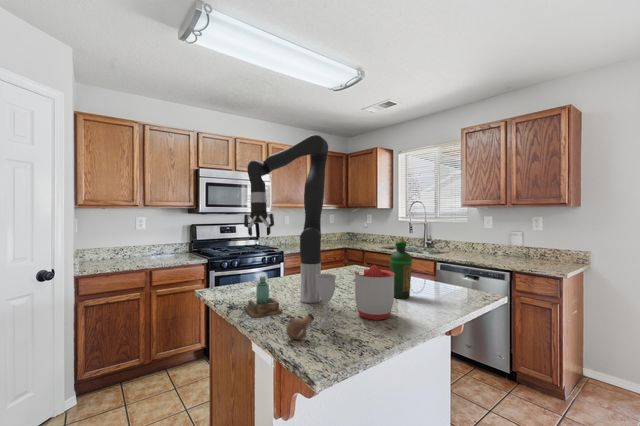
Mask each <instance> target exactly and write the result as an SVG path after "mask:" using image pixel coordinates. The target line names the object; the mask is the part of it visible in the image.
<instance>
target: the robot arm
mask: <svg viewBox="0 0 640 426" xmlns="http://www.w3.org/2000/svg"><path fill="white" fill-rule="evenodd" d="M328 151H329V144H328V141H327V140H326V139H325V138H323V137H322V136H321V135H318V134H311V135H309V136H307V137H305V138H304V139H302V140H301V141H299V142H297V143H295V144H293V145H292V146H290V147H287V148H285V149H284V150H281V151H278V152H276V153H273V154H270V155H268V156H267V157H266V158H265V160H263V161H259V160H257V159H252V160H251V161H249V162H248V165H247V168H246V169H247V170H246V171H247V175H248V179H249V182H250V214H244V217H243V219H244V221H243V226H244V228H247V232H248V235H249V236H250V237H253V226H254V225H255V224H264V225H265V226H266V236H270V235H271V232H272V231H271V228H272V227H274V226H275V220H274V219H275V217H274V213H267V212H268V211H267V209H268V208H267V194H266V191H267V189H266V182H265V181H264V180H263V178H262V177H264V176H266V175H268V174H270V173H271V172H273V171H274V170H277V169H280V168H282V167H286V166H287V165H289V164H291V163H292V162H294V161H295V160H297V159H299V158H302V157H305V156H310V167H309V171H308V173H307V177H306V180H305V183H304V188H303V190H304V191H303V205H304V208H303V209H304V216H305V217H304V225H303V231H302V232H301V233H300V237H299V255H300V256H299V257H300V295H299V296H300V298H299V299H300V302H301V303H304V304H305V303H307V304H316V303H321V301H322V300H321V297H320V295H319V293H318V290H317V277H316V275H318V274H322V273H321V272H322V271H321V270H322V269H321V268H322V263H321V262H322V257H321V256H322V254H321V252H322V251H321V247H322V244H321V243H322V242H321V241H322V231H321V230H322V229H321V228H322V227H321V225H322V224H321V223H322V222H321V218H322V211H323V207H324V199H325V181H326V165H327V158H328V153H329V152H328ZM250 218H251V220H250ZM268 218H269V221H268V220H267V219H268ZM249 220H250V222H249ZM269 222H270V223H269Z"/></svg>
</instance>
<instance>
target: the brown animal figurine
mask: <svg viewBox="0 0 640 426" xmlns="http://www.w3.org/2000/svg"><path fill="white" fill-rule="evenodd" d="M314 320H315V316H314V315H313V314H312V313H310V312H309V313H307V316H305V317H304V318H302V319H301V318H292V317H291V318H289V321H288V323H287V326H286V329H285V330H286V331H285V332H286V335H287V336H288V338H290V339H291V340H295V341H297V340H301V339H305V338H307V330H308V329H307V328H308V326H309V325H310V324H311V323H312V322H314Z"/></svg>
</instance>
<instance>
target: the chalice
mask: <svg viewBox="0 0 640 426" xmlns="http://www.w3.org/2000/svg"><path fill="white" fill-rule="evenodd" d="M316 277H317V290H318V293H319V295H320V297H321V300H320V301H322V302H323V303H324V306H323V309H324V311H323V314H324V317H323V319H321V320H320V322H319V325H318V329H322V330H331V329H333V328H334V325H333V323H332V320H330V318H328V314H329V311H328V309H329V305H328V303H329V302H331V300H332V298H333V296H334V295H335V290H336V278H337V275H336V274H332V273H321V274H318V275H316Z"/></svg>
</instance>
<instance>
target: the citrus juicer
mask: <svg viewBox="0 0 640 426" xmlns="http://www.w3.org/2000/svg"><path fill="white" fill-rule="evenodd" d="M353 272H354V279H352V283H354V297H355V298H354V299H355V305H356V309H357V312H358V314H359V316H360V317H362V318H364V319H367V320H373V321H378V320H385V319H388V318H389V317H390V315H391V313H392V309H393V306H394V301H395V298H394V275H395V273H394V272H391V271H390V270H386V269H380V268H379V267H378V266H377V265H376V264H373V265H372V266H370V267H369V268H366V269H365V268H364V270H363V274H360V272H358V271H353Z"/></svg>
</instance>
